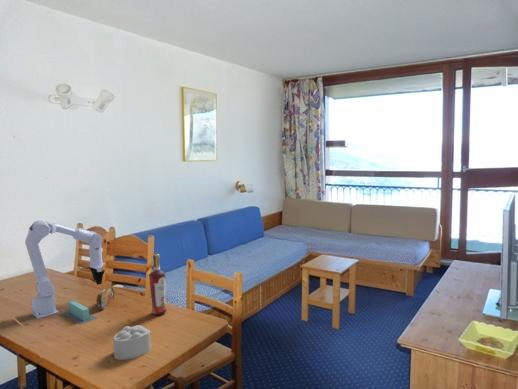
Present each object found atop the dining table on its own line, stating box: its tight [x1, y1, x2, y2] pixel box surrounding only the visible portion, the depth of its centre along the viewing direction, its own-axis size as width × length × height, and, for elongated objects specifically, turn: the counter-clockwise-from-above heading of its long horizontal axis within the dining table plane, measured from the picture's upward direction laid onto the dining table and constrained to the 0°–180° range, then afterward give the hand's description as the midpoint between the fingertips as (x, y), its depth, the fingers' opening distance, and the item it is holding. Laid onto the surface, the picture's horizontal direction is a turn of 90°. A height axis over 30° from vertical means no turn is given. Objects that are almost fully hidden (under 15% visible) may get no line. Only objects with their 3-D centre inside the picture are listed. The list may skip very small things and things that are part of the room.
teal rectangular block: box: [67, 299, 90, 321], centre depth 179 cm, size 16×2×5 cm, turn 48°
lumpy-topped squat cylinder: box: [112, 324, 152, 361], centre depth 146 cm, size 10×13×9 cm
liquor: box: [148, 253, 167, 316], centre depth 179 cm, size 7×7×28 cm
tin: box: [96, 286, 115, 311], centre depth 190 cm, size 15×3×8 cm, turn 179°
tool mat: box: [61, 309, 98, 325], centre depth 179 cm, size 8×20×1 cm, turn 48°
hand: (97, 282), depth 198 cm, fingers open, 7 cm apart
